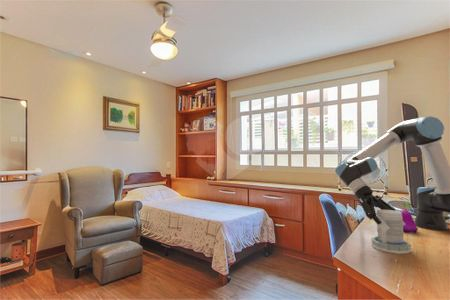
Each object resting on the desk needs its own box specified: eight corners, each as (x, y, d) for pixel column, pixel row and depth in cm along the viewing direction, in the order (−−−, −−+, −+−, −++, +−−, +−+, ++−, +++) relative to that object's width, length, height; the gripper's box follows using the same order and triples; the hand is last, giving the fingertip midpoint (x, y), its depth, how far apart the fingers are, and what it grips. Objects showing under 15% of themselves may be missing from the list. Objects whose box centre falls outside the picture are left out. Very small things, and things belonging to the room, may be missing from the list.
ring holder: (392, 242, 116) (392, 235, 117) (419, 253, 103) (418, 245, 103) (365, 243, 115) (364, 236, 115) (388, 254, 101) (388, 247, 101)
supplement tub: (407, 246, 107) (406, 212, 108) (397, 250, 102) (396, 214, 103) (383, 240, 115) (382, 208, 116) (373, 243, 110) (372, 210, 111)
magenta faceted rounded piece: (418, 234, 129) (418, 205, 130) (393, 231, 135) (392, 203, 136) (416, 229, 139) (415, 202, 139) (392, 226, 145) (391, 200, 145)
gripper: (369, 192, 129) (402, 228, 116) (339, 196, 117) (373, 237, 103) (380, 183, 125) (415, 219, 111) (350, 186, 112) (386, 227, 99)
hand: (395, 228), depth 107 cm, fingers open, 13 cm apart
